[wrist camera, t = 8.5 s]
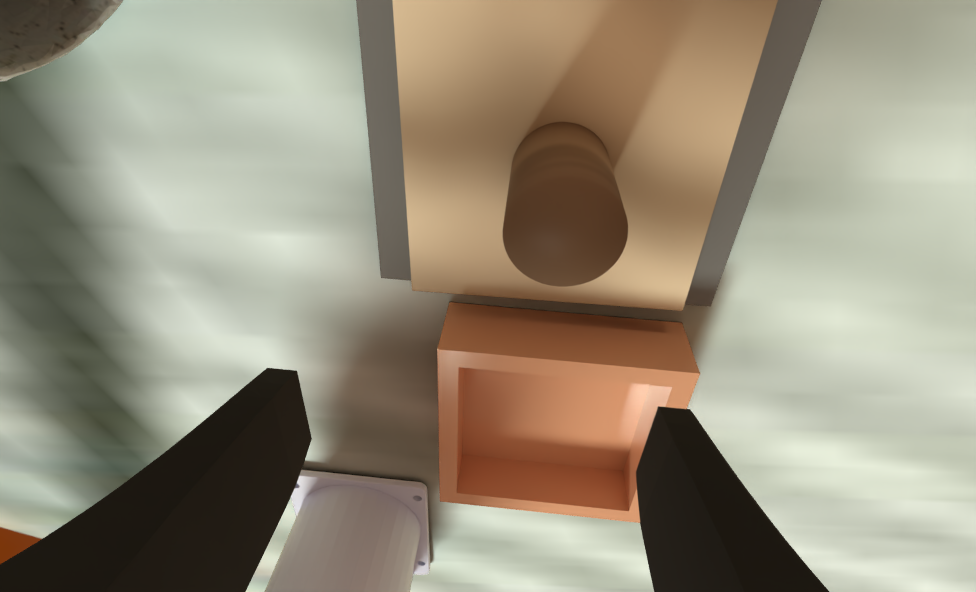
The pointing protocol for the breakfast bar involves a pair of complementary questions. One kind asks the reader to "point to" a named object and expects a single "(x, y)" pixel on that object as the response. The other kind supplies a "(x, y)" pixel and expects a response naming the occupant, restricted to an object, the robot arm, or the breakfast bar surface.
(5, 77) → the ceramic mug
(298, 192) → the breakfast bar surface
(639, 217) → the lid
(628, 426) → the dish
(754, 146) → the mat
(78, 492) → the breakfast bar surface
